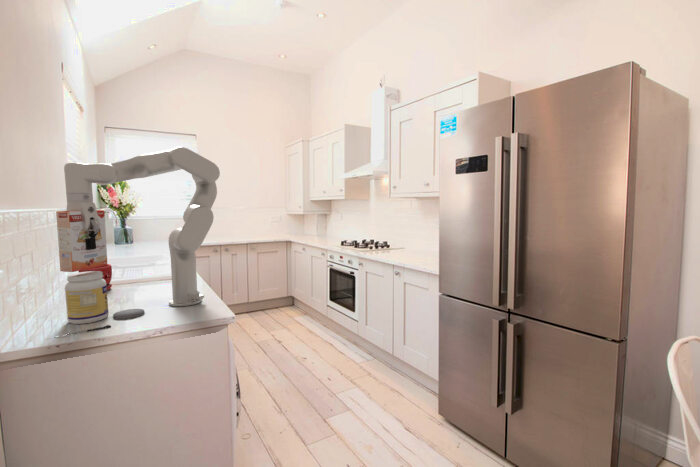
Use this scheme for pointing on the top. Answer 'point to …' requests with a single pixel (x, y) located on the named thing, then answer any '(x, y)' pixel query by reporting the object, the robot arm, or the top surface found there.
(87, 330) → the chef's knife
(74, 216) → the cracker box
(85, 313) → the supplement tub
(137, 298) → the top surface
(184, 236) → the robot arm
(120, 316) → the coaster
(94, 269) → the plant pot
